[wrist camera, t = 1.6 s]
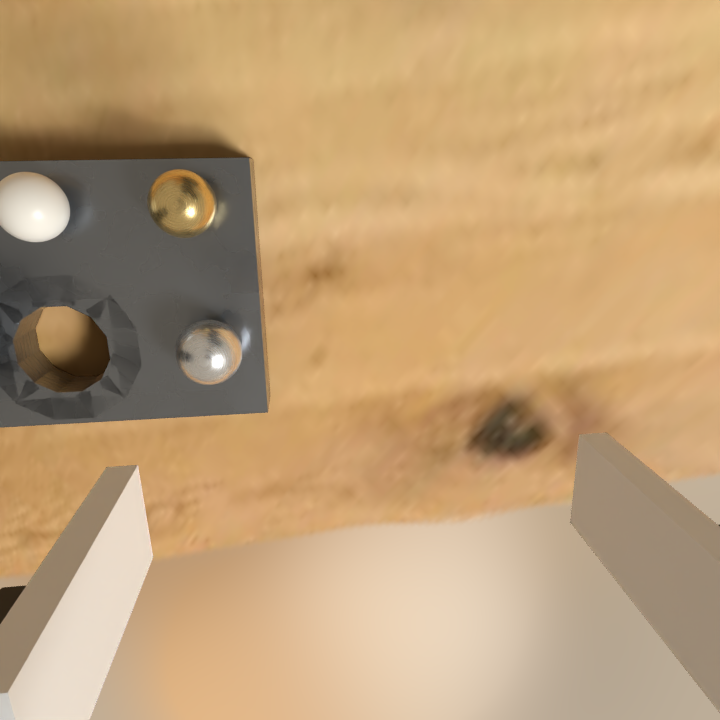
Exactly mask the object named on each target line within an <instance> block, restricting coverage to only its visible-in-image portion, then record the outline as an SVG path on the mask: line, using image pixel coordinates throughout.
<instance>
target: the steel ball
mask: <svg viewBox="0 0 720 720" xmlns="http://www.w3.org/2000/svg"><path fill="white" fill-rule="evenodd" d="M175 359H176V363H177V365H178V367H179V369H180V371H181V372H182V373H183V374H184V375H185V376H186V377H187V378H188V379H190V380H191V381H193V382H195V383H198V384H202V385H215V384H219V383H222V382H224V381H226V380H228V379H229V378H230V377H231V376H233V375H234V373H235V372H236V371H237V369H238V368H239V366H240V363H241V360H242V345H241V342H240V339H239V337H238V336H237V334H236V333H235V331H234V330H233V329H232V328H231V327H229V326H228V325H226V324H224V323H222V322H220V321H216V320H201V321H197V322H195V323H193V324H191V325H189V326H188V327H186V328H185V329H184V330H183V331H182V333H181V334H180V336H179V337H178V339H177V342H176V345H175Z"/></svg>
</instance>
